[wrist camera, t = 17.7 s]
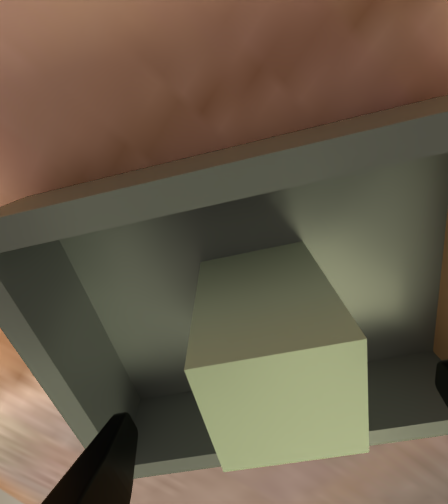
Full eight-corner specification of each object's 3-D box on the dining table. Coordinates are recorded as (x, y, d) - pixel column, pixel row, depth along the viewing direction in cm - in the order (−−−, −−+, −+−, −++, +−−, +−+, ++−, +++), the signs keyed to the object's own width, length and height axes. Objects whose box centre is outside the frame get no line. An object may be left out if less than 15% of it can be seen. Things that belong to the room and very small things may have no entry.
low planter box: (459, 90, 11) (617, 70, 7) (433, 343, 16) (511, 425, 12) (34, 193, 13) (-66, 233, 8) (136, 392, 18) (108, 482, 14)
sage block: (302, 241, 12) (367, 338, 7) (312, 323, 14) (369, 452, 9) (200, 261, 13) (184, 369, 7) (223, 339, 14) (223, 471, 9)
